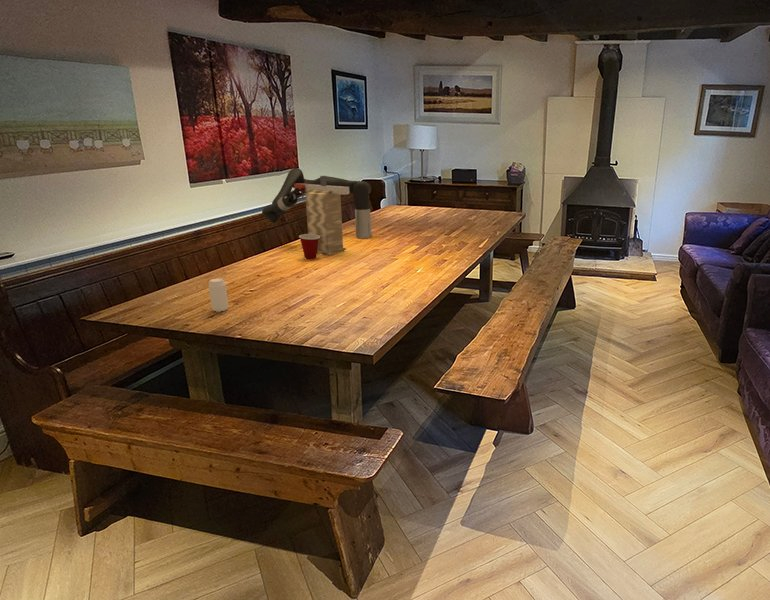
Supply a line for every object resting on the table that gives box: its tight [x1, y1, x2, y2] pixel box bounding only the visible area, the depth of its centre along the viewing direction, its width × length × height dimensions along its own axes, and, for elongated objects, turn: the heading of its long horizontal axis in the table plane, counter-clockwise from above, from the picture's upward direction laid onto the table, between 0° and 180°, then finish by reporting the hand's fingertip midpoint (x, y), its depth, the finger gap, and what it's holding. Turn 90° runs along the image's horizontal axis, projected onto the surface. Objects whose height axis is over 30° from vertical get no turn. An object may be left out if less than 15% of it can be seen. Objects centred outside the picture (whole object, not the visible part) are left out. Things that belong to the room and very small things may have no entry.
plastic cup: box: [298, 233, 320, 260], centre depth 277 cm, size 11×11×12 cm
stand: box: [304, 190, 347, 257], centre depth 287 cm, size 16×14×33 cm
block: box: [293, 175, 350, 195], centre depth 282 cm, size 36×4×9 cm, turn 53°
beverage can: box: [208, 277, 229, 313], centre depth 202 cm, size 6×6×12 cm
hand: (304, 188), depth 289 cm, fingers open, 8 cm apart
